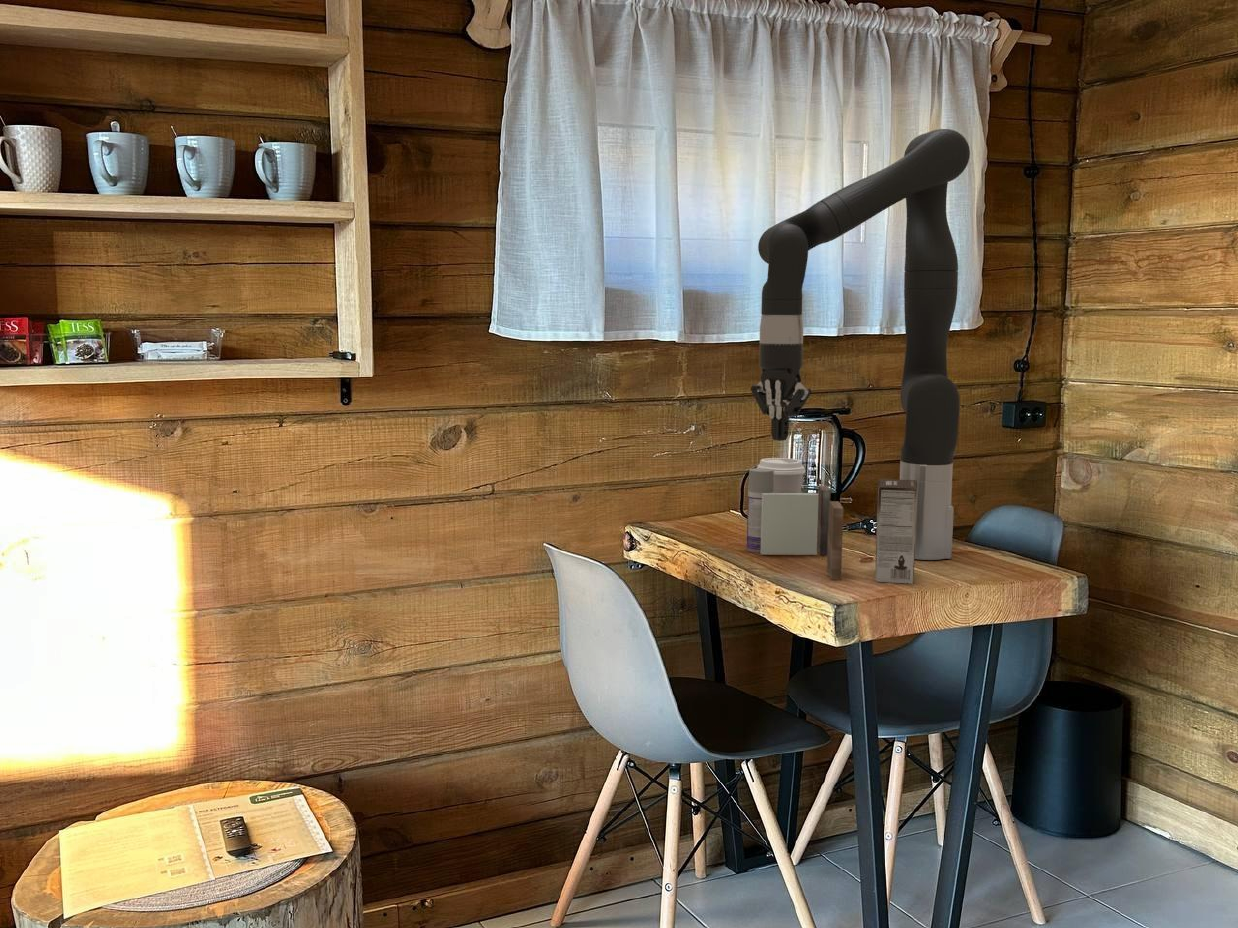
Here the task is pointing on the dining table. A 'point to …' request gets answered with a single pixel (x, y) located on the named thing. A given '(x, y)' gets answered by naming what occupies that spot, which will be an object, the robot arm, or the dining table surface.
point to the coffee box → (896, 530)
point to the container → (757, 504)
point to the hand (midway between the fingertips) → (779, 439)
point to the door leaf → (789, 523)
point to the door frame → (830, 532)
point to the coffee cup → (785, 474)
